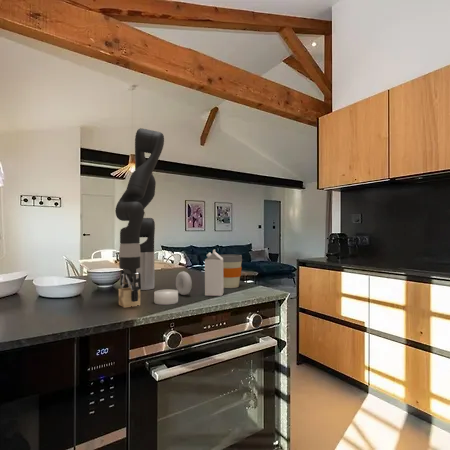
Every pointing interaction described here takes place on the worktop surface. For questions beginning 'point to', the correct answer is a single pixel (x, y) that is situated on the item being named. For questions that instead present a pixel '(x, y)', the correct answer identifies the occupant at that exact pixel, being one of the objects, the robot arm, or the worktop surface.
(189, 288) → the donut
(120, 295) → the maple cube
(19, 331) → the worktop surface
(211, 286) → the milk carton
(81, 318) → the worktop surface
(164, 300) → the pedestal
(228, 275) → the reusable coffee cup
